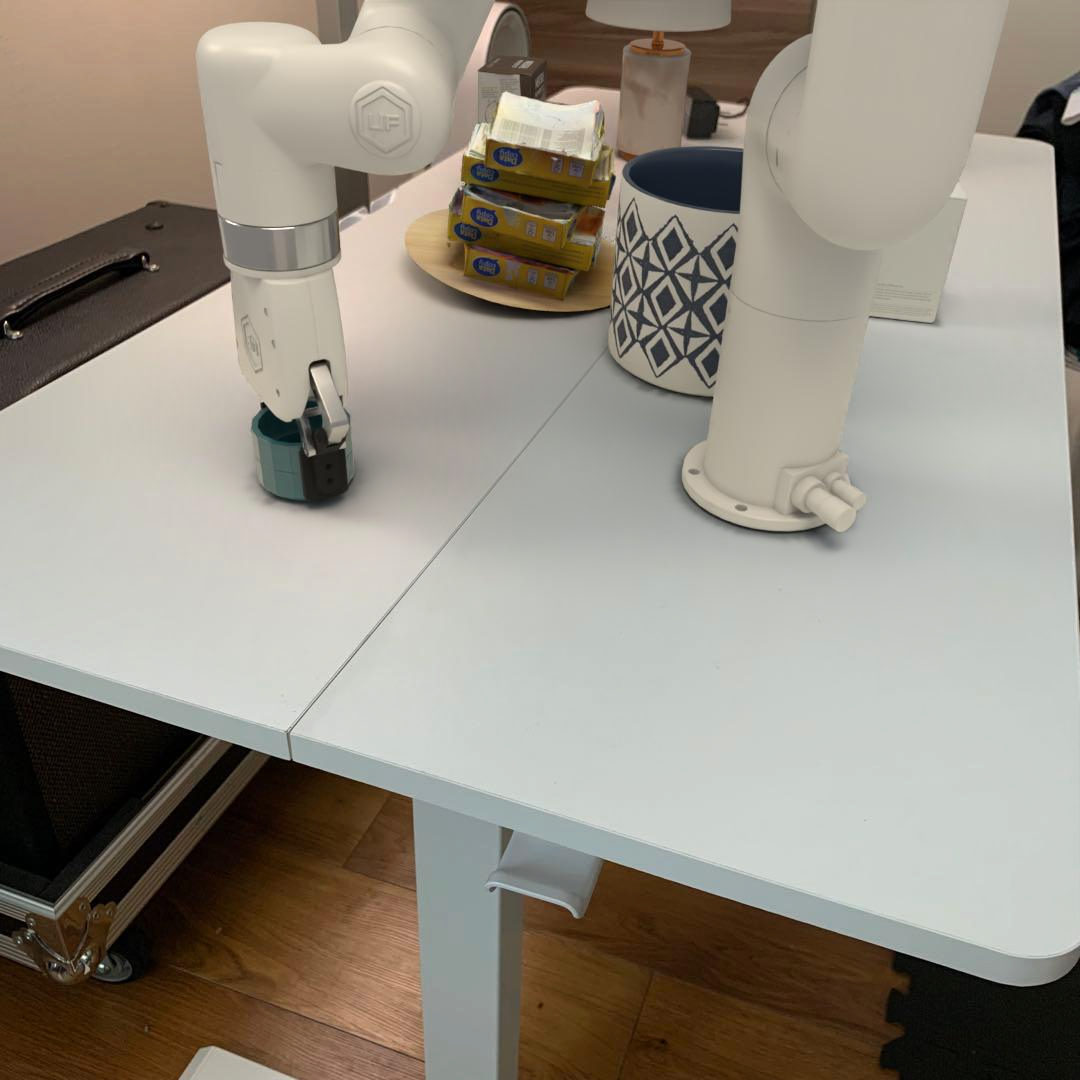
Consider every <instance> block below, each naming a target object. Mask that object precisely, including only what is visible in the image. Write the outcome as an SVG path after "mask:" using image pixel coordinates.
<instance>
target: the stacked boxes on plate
mask: <svg viewBox="0 0 1080 1080" xmlns="http://www.w3.org/2000/svg"><path fill="white" fill-rule="evenodd" d="M493 108H494V106H492V108H491V110H493ZM491 113H492V111H489V116H491V120H490V123H489V124H487V122H486V123H483V122H482V123H480V122H478V121H477V122H476V124H475V125H474V127H473V129H472V132H471V134H470V136H469V139H468V144H467V146H466V149H465V151H464V152H463V154H462V158H461V169H460V170H461V172H460V180H461V182H464V185H463V184H461V185H460V187H461V189H460V187H457V189H456V191H455V193H454V195H453V196H452V199H451V201H450V203H449V204H448V208H445V209H440V210H436V211H432V212H429V213H426V214H424V215H422V216H420V217H419V218H416V219H415V220H414V221H413V222H412V223H411V224H410V225H409V226H408V228H407V229H406V230H405V233H404V246H405V249H406V251H407V253H408V255H409V257H411V259H412V260H413V262H414V263H416V264H417V265H418V266H419V267H420V268H421V269H422V270H423V271H425V272H426V273H427V274H428V275H430V276H432V277H433V278H435V280H438V281H440V282H441V283H443V284H445V285H446V286H449V287H451V288H453V289H456V290H458V291H460V292H462V293H465V294H468V295H471V296H474V297H477V298H479V299H483V300H486V301H488V302H492V303H497V304H500V305H504V306H509V307H513V308H521V309H527V310H532V311H533V310H534V311H535V310H536V311H545V312H547V311H548V312H582V311H583V312H584V311H592V310H597V309H602V308H606V307H608V306H610V305H611V292H612V279H613V266H614V254H615V244H614V243H613V242H612V241H610V240H608V239H606V238H605V237H602V236H603V229H604V220H605V215H606V210H603V209H605V208H606V206H607V205H606V204H607V203H608V201H610V199H611V195H612V192H613V189H614V186H615V183H616V181H617V174H616V170H615V169H616V168H615V163H614V161H615V159H614V157H615V152H614V149H615V148H613V146H612V145H608V144H604V142H603V141H604V137H606V134H605V125H606V123H605V121H606V119H605V111H604V110H603V108H602V103H601V101H600V100H597V99H594V100H591V101H587V102H583V103H579V104H566V103H564V102H563V103H562V102H557V101H550V100H546V101H544V100H538V99H532V98H528V97H523V96H519V95H514V94H511V93H509V92H507V91H506V92H504V93H502V94H501V97H500V99H499V101H498V102H497V103H496V110H495V112H494V113H492V114H491ZM487 118H488V117H487Z"/></svg>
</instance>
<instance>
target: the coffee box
mask: <svg viewBox="0 0 1080 1080" xmlns="http://www.w3.org/2000/svg"><path fill="white" fill-rule="evenodd" d="M547 71H548V59H547V58H540V57H532V56H520V55H519V56H518V55H501V54H499V55H496V56H495V57H493V58H492V59H491V60H489V61H488V62H486V63H485V64H483V66H481V67H480V68H478V69H477V123H478V122H480V123H482V122H483V123H486V122H487V124H489V123H490V120H491V116H489V111H492V113H494V112H495V110H496V103H497V102H498V101H499V99H500V97H501V94H502V93H504V92H506V91H507V92H509V93H511V94H514V95H519V96H523V97H528V98H532V99H538V100H544V101H547V100H546V99H547V98H546V97H547V96H546V95H547V75H548V74H547V73H548V72H547ZM492 106H494V108H493V110H491V108H492ZM492 113H491V114H492ZM487 117H488V118H487Z"/></svg>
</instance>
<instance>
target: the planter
mask: <svg viewBox="0 0 1080 1080" xmlns="http://www.w3.org/2000/svg"><path fill="white" fill-rule="evenodd" d="M742 168H743V147H731V146H730V147H729V146H717V145H716V146H715V145H713V146H712V145H694V146H693V145H691V146H681V147H676V148H667V149H661V150H655V151H652V152H648V153H644V154H642V155H639V156H636V157H635V158H633V159H631V160H630V161H628V160H627V162H626V163H625V164H624V165H623V167H622V170H621V175H620V183H619V194H618V207H617V217H616V218H617V219H616V230H615V244H614V245H615V254H614V266H613V279H612V292H611V305H609V306H610V307H609V317H608V333H607V348H608V350H609V352H610V354H611V356H612V357H613V359H614V360H615V362H616V363H617V364H618V365H620V366H621V367H622V368H623V369H624V370H625V371H627V372H629V373H630V374H632V375H633V376H634V377H636V378H639V379H640V380H642V381H644V382H646V383H649V384H651V385H654V386H656V387H659V388H661V389H666V390H668V391H672V392H676V393H679V394H680V393H681V394H686V395H692V396H699V397H711V398H714V391H715V384H716V377H717V371H718V364H719V357H720V350H721V343H722V337H723V330H724V323H725V316H726V309H727V303H728V296H729V289H730V284H731V278H732V271H733V264H734V257H735V250H736V242H737V234H738V225H739V215H740V203H741V187H742Z"/></svg>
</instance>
